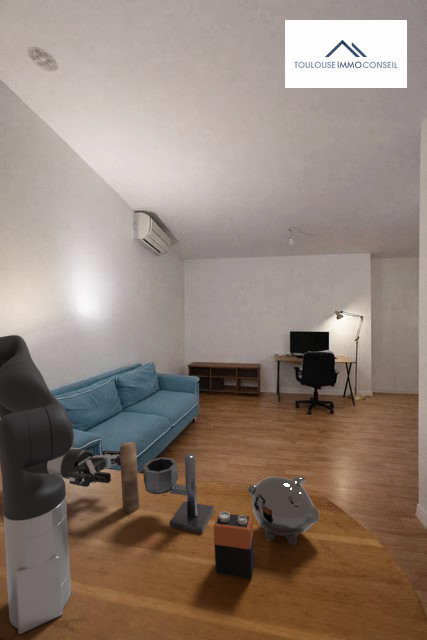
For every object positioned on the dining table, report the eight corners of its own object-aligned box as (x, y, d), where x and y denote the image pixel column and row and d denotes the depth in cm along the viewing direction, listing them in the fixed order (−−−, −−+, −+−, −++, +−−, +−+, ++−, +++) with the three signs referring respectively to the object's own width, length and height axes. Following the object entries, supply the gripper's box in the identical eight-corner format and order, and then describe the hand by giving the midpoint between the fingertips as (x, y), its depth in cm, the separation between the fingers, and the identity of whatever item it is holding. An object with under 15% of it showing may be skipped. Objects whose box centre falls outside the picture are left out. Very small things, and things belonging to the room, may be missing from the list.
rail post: (141, 509, 77) (137, 446, 77) (125, 514, 75) (121, 450, 75) (136, 501, 81) (133, 441, 81) (121, 506, 79) (118, 444, 79)
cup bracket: (140, 521, 73) (136, 458, 73) (156, 501, 80) (153, 444, 80) (202, 533, 68) (199, 465, 68) (213, 511, 75) (210, 450, 75)
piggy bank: (320, 560, 59) (317, 501, 59) (244, 544, 64) (241, 489, 64) (320, 522, 69) (318, 472, 69) (255, 511, 74) (253, 464, 74)
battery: (220, 556, 61) (218, 506, 61) (254, 561, 59) (252, 510, 59) (215, 574, 57) (212, 521, 57) (251, 581, 55) (249, 525, 55)
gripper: (48, 461, 77) (101, 468, 72) (87, 439, 91) (135, 443, 86) (49, 491, 77) (103, 500, 72) (89, 464, 91) (136, 470, 86)
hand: (120, 469), depth 79 cm, fingers open, 8 cm apart
